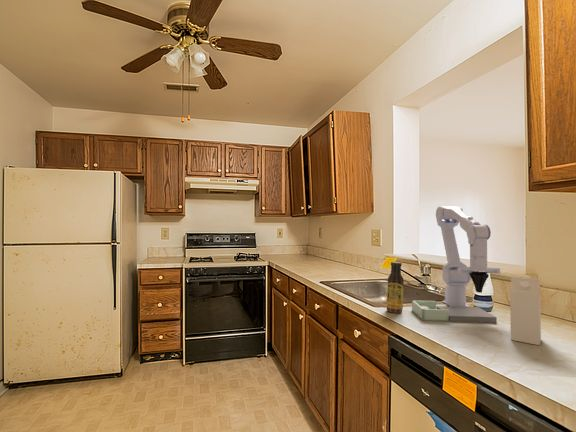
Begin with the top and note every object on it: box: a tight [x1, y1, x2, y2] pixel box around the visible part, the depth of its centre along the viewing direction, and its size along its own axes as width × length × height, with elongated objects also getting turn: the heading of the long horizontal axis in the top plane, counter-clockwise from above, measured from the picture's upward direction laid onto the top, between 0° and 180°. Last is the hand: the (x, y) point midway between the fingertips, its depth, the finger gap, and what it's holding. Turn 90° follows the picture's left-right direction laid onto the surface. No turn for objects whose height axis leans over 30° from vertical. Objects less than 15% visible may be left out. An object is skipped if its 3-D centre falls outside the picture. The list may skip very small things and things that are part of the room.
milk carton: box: [509, 275, 542, 346], centre depth 101 cm, size 7×7×19 cm
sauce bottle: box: [386, 261, 404, 314], centre depth 132 cm, size 7×6×20 cm
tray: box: [411, 300, 450, 322], centre depth 127 cm, size 14×9×4 cm, turn 174°
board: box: [436, 305, 497, 324], centre depth 125 cm, size 14×16×2 cm
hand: (478, 292), depth 125 cm, fingers closed
